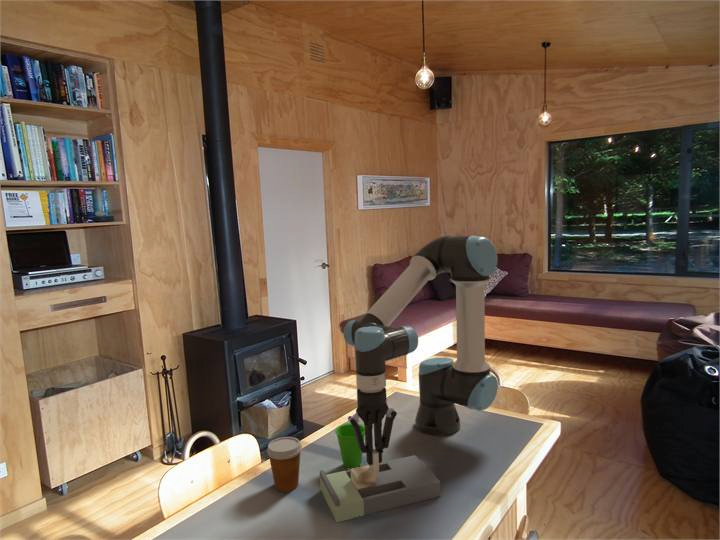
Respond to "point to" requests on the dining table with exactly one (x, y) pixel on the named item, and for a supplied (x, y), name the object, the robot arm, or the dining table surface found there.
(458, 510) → the dining table surface
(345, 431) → the cup
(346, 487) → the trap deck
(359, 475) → the block
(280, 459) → the disposable coffee cup
